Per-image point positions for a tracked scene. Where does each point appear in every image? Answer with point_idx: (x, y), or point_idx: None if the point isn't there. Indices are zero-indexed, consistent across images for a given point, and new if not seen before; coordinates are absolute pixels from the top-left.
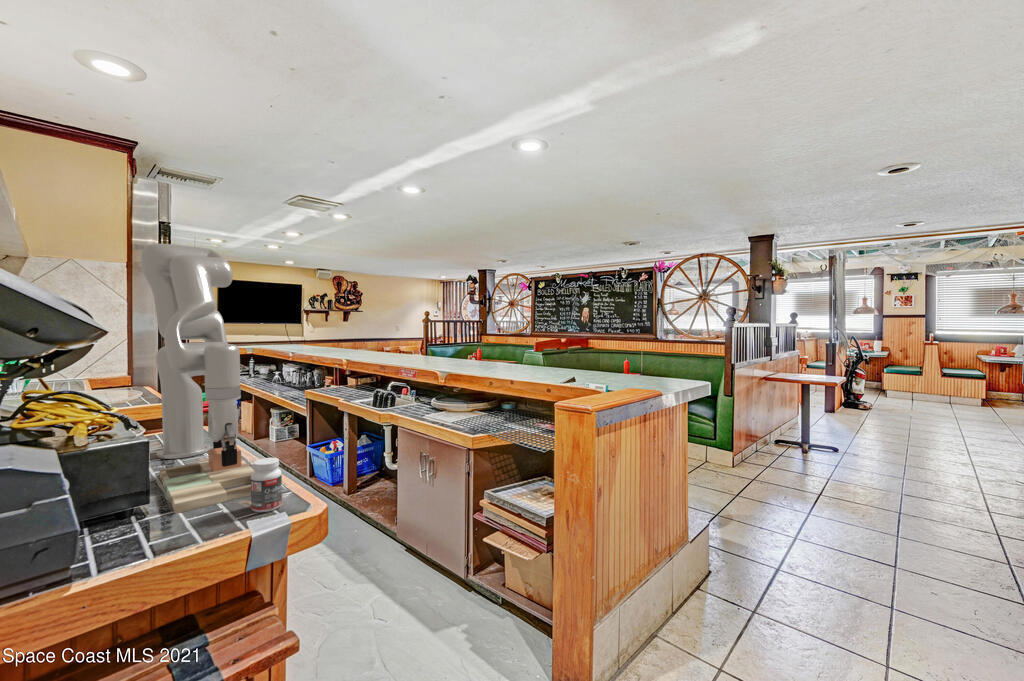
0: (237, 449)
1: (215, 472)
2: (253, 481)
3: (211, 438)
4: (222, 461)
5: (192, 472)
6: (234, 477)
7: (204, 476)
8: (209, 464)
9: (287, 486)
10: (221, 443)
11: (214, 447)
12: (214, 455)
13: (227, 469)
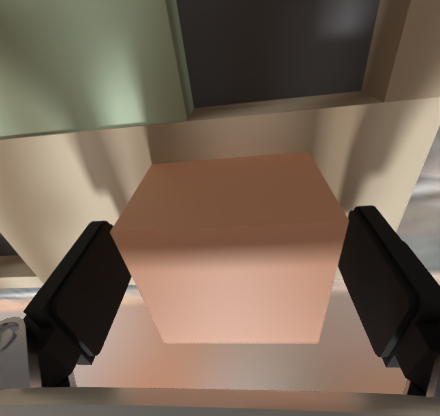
0: (198, 336)
1: (126, 171)
2: None
3: (179, 408)
4: (75, 243)
5: (373, 40)
6: (11, 228)
7: (77, 111)
8: (280, 159)
9: (3, 301)
10: (383, 321)
11: (387, 263)
12: (117, 237)
13: None
